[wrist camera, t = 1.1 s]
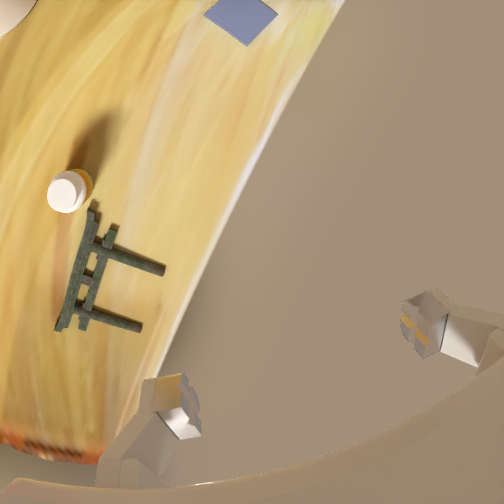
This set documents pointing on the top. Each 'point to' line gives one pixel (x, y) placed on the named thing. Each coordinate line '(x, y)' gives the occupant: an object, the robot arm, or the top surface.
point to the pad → (241, 18)
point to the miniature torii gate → (97, 278)
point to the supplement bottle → (69, 190)
